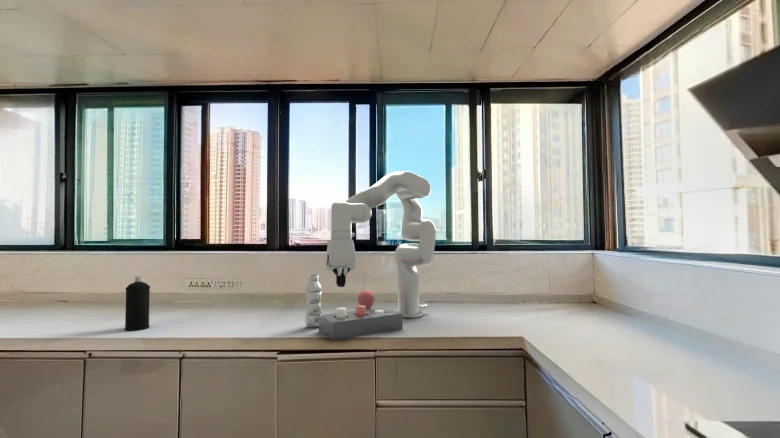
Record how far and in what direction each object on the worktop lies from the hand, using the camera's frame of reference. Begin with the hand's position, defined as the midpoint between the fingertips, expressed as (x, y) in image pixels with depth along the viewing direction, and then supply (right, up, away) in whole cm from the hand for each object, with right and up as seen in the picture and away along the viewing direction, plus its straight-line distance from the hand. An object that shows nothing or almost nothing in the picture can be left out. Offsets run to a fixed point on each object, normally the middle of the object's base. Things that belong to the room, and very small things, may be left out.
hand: (340, 286), depth 140 cm
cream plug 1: (0, -14, 0) cm, 14 cm away
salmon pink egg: (+7, -14, +4) cm, 16 cm away
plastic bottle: (-12, -18, +10) cm, 23 cm away
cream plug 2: (+14, -17, +8) cm, 23 cm away
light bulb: (+8, -18, +24) cm, 31 cm away
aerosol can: (-80, -18, +9) cm, 82 cm away
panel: (+7, -17, +4) cm, 19 cm away
